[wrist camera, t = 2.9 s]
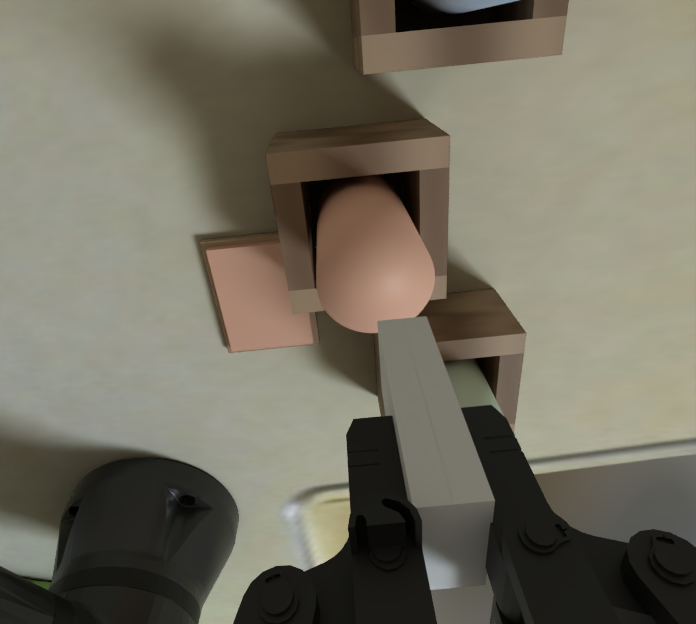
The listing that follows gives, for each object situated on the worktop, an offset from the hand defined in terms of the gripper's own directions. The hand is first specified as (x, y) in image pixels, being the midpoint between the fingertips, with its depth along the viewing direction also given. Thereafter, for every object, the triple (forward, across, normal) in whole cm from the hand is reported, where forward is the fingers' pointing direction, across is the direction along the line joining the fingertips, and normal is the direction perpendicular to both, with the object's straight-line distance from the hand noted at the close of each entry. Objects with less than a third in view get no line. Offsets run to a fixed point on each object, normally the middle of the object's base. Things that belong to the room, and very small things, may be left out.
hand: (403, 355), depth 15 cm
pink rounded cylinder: (+15, 0, 0) cm, 15 cm away
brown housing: (+18, 0, 0) cm, 18 cm away
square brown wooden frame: (+18, +5, -12) cm, 22 cm away
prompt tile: (+17, -7, -6) cm, 20 cm away
